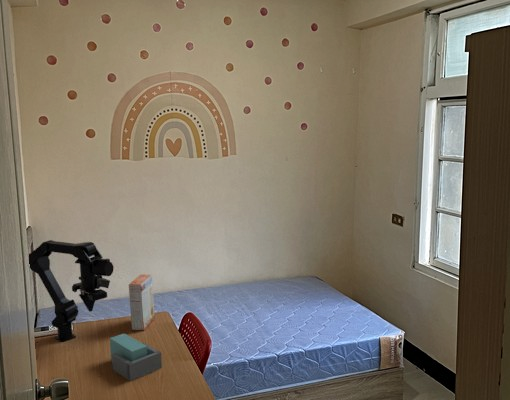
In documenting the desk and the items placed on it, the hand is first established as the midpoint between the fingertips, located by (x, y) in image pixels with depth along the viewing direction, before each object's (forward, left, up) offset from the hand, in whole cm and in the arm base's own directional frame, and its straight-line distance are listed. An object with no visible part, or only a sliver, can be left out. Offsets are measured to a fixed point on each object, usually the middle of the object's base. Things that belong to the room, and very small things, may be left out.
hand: (90, 311), depth 202 cm
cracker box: (0, +24, -13) cm, 27 cm away
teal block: (+29, 0, -13) cm, 32 cm away
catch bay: (+33, 0, -13) cm, 35 cm away
